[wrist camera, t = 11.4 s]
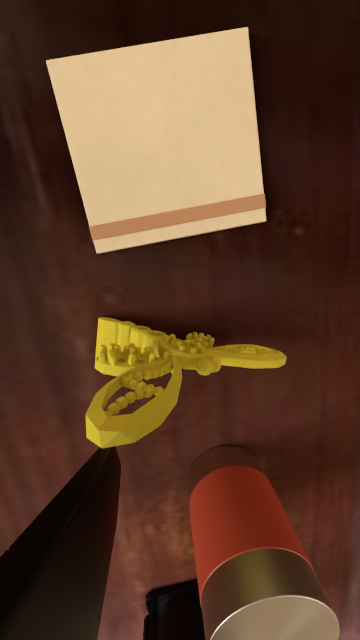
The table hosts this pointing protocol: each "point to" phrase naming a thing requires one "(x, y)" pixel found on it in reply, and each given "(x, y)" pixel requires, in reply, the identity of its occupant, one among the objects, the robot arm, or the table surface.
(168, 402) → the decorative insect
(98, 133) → the napkin
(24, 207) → the table surface
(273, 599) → the can
